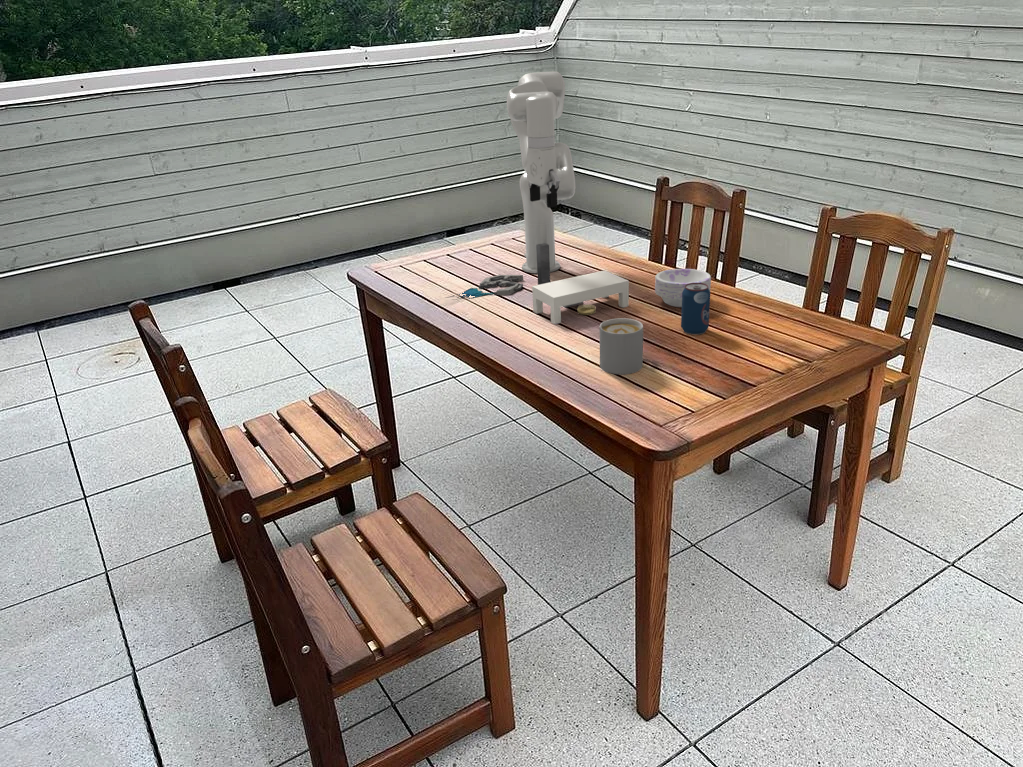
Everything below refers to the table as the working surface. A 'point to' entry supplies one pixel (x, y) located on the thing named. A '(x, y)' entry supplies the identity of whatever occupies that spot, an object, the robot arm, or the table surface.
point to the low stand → (578, 292)
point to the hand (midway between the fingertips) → (543, 203)
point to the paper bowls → (678, 283)
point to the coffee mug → (621, 346)
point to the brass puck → (586, 309)
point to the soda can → (695, 308)
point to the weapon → (497, 280)
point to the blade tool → (545, 266)
